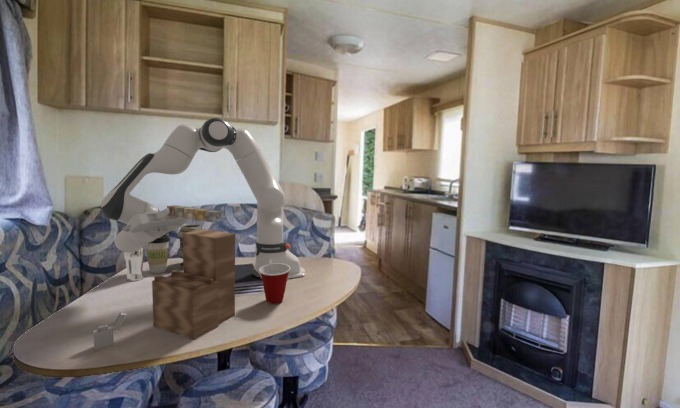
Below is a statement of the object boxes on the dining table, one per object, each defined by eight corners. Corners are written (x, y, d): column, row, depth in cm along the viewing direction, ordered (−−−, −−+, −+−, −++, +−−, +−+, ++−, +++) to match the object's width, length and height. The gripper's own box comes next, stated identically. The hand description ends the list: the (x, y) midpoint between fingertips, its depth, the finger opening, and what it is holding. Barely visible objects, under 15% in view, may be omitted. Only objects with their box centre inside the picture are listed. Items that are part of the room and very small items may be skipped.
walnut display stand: (153, 326, 101) (151, 237, 99) (199, 305, 117) (198, 228, 114) (193, 339, 95) (193, 244, 92) (237, 316, 110) (237, 234, 107)
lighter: (94, 349, 88) (92, 318, 87) (94, 346, 90) (92, 316, 89) (127, 341, 92) (126, 312, 92) (126, 339, 94) (125, 310, 93)
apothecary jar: (174, 263, 163) (173, 224, 161) (200, 259, 170) (200, 222, 168) (181, 269, 153) (181, 229, 151) (209, 265, 161) (209, 226, 159)
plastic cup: (251, 302, 121) (251, 268, 120) (271, 293, 131) (272, 261, 129) (276, 309, 116) (277, 274, 115) (295, 299, 126) (296, 266, 124)
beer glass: (148, 276, 143) (148, 240, 141) (137, 282, 136) (136, 244, 135) (132, 275, 144) (131, 239, 142) (120, 280, 137) (119, 243, 135)
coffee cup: (139, 272, 147) (138, 237, 146) (157, 266, 157) (156, 233, 155) (158, 275, 145) (158, 239, 143) (175, 268, 154) (175, 235, 153)
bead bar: (165, 215, 112) (165, 205, 111) (173, 214, 114) (173, 205, 114) (213, 222, 104) (213, 212, 103) (221, 221, 106) (221, 211, 106)
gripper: (116, 222, 108) (141, 203, 103) (172, 214, 127) (197, 198, 121) (123, 241, 108) (149, 222, 102) (178, 230, 126) (203, 214, 121)
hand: (175, 209), depth 112 cm, fingers closed on bead bar, 3 cm apart
